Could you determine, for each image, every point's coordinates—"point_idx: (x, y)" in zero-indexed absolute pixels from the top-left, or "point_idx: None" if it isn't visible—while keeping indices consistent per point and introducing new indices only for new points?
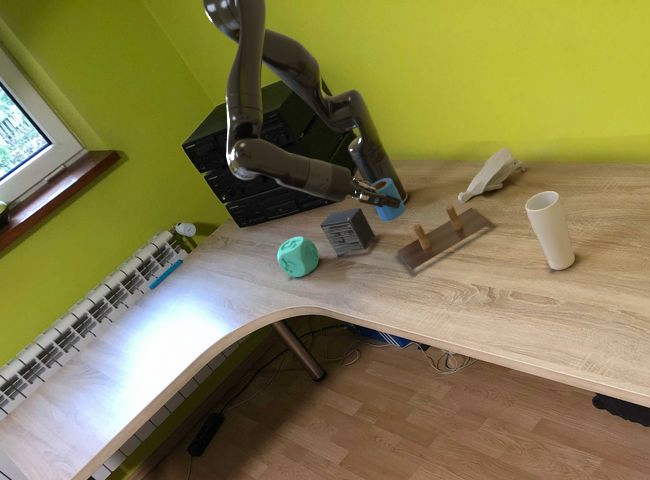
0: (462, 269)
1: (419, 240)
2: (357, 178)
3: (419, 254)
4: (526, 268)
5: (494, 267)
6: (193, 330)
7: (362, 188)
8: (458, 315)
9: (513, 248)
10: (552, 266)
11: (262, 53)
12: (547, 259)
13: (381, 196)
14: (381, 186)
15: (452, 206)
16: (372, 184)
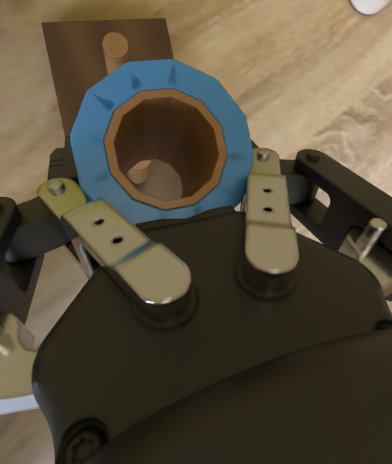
0: (260, 134)
1: (143, 176)
2: (132, 274)
3: (156, 196)
4: (338, 44)
5: (298, 84)
6: None
7: (326, 249)
8: (376, 179)
9: (268, 33)
10: (379, 9)
11: None
12: (383, 1)
13: (338, 165)
14: (117, 149)
15: (119, 35)
16: (92, 190)
